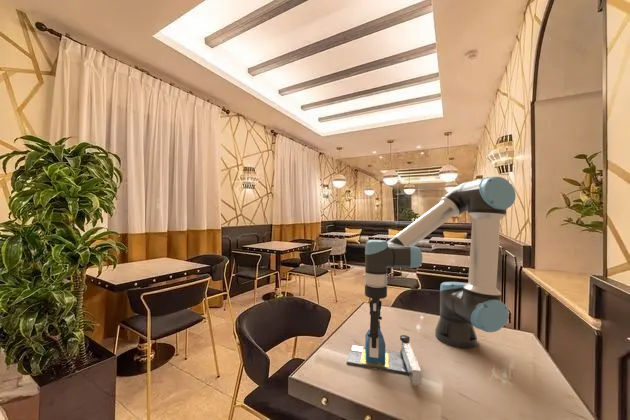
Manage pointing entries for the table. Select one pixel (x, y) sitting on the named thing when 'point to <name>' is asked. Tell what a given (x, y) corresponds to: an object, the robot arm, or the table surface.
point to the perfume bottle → (380, 348)
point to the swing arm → (410, 360)
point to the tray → (392, 363)
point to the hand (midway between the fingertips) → (375, 346)
